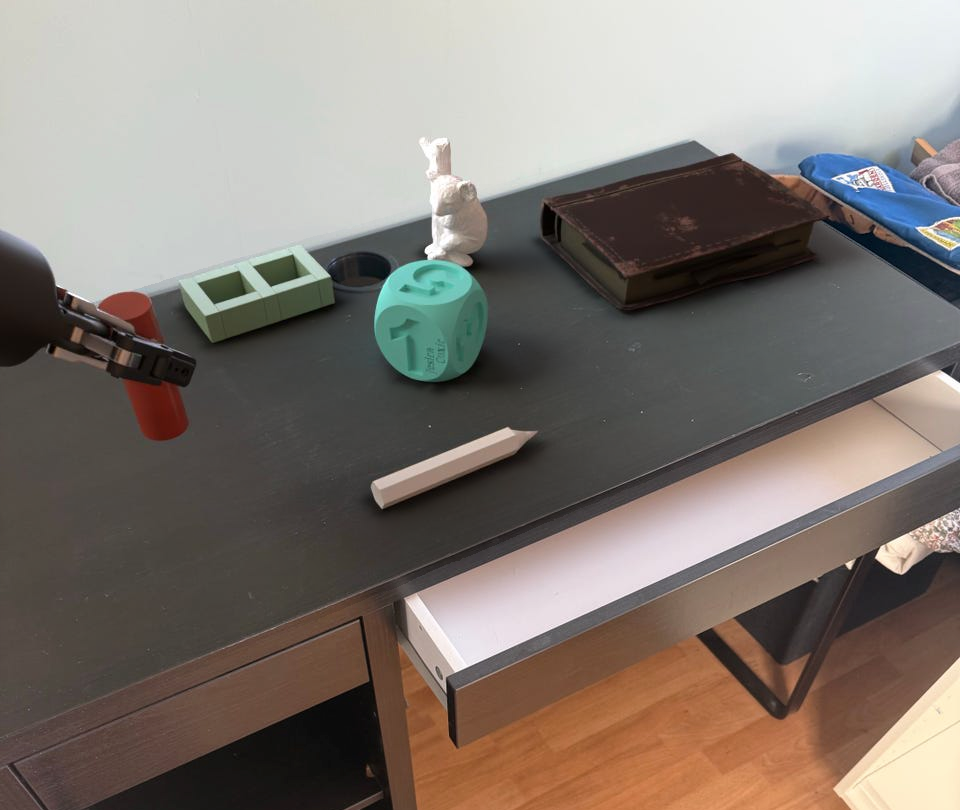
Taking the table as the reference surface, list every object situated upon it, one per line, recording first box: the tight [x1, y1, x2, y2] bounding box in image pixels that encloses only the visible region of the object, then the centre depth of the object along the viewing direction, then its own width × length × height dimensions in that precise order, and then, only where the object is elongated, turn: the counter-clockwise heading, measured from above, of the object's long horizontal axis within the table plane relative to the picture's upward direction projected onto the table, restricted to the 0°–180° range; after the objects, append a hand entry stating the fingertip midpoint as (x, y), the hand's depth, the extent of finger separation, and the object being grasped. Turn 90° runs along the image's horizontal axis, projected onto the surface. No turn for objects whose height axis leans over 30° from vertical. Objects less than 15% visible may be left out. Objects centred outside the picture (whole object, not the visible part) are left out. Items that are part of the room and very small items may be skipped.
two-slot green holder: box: [177, 244, 336, 344], centre depth 92 cm, size 14×8×3 cm, turn 122°
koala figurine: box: [418, 136, 489, 268], centre depth 94 cm, size 8×7×12 cm
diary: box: [539, 152, 830, 311], centre depth 98 cm, size 19×25×5 cm
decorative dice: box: [373, 259, 489, 383], centre depth 84 cm, size 8×8×8 cm
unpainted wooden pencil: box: [370, 426, 539, 510], centre depth 77 cm, size 3×2×16 cm
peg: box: [97, 291, 190, 442], centre depth 64 cm, size 4×4×10 cm
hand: (169, 361), depth 65 cm, fingers closed on peg, 3 cm apart
